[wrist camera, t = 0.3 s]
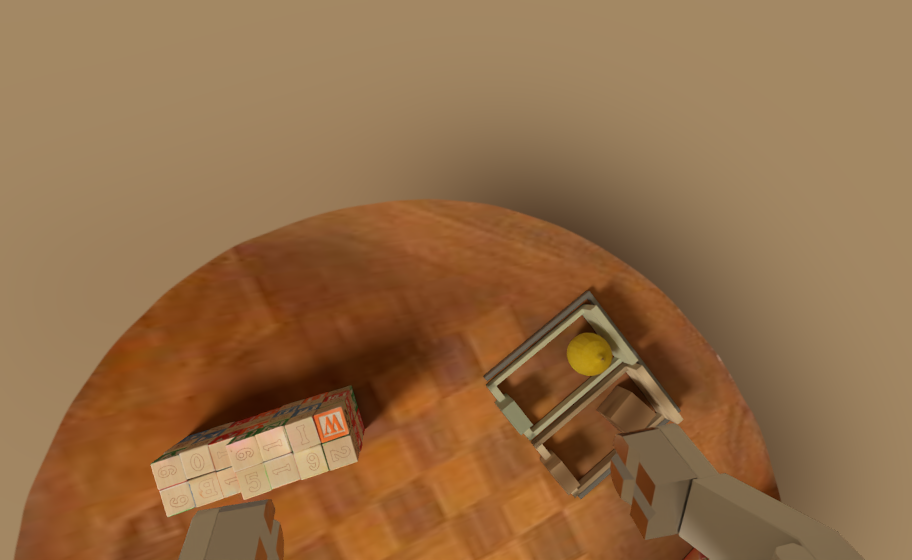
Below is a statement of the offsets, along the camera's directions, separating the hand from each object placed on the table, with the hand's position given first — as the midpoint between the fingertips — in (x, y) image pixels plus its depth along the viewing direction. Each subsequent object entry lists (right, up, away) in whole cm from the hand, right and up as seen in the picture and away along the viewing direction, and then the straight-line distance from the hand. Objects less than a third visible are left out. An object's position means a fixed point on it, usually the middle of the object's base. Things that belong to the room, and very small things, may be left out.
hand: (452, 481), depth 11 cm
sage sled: (+14, -8, +55) cm, 57 cm away
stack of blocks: (-23, -15, +51) cm, 57 cm away
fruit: (+17, -5, +56) cm, 58 cm away
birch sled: (+20, -16, +55) cm, 61 cm away
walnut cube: (+23, -13, +56) cm, 62 cm away
